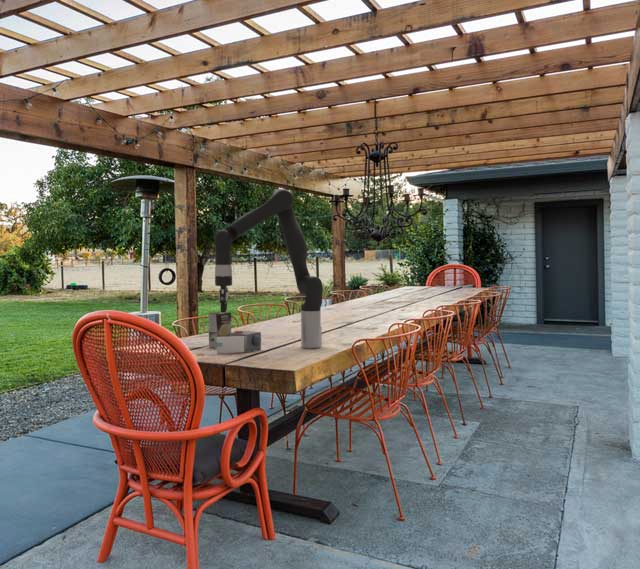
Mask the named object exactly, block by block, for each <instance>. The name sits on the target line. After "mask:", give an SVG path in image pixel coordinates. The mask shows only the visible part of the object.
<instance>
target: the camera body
mask: <svg viewBox="0 0 640 569" xmlns="http://www.w3.org/2000/svg"><path fill="white" fill-rule="evenodd" d="M261 334H262V332H261V331H252V330H235V331H234V330H233V332H231V333H230V337H236V336H247V352H245V345H244V352H243V353H250V352H249V351H251V352H254V351H253V350H256V351H259V350H258V349H260V350H262V335H261Z"/></svg>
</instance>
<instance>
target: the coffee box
mask: <svg viewBox="0 0 640 569" xmlns="http://www.w3.org/2000/svg"><path fill="white" fill-rule="evenodd" d="M230 333H232V312H228V311H226V312H225V313H221V311H220V312H211V313H210V312H209V313H208V347H209V348H215V349H217V347H216V343H217V337H230Z"/></svg>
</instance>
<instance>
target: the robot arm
mask: <svg viewBox="0 0 640 569" xmlns="http://www.w3.org/2000/svg"><path fill="white" fill-rule="evenodd" d="M291 192H292V191H290V190H288V189H285V188H278V189H275V190H274V191H273V193H272V195H271V197H270V198H269V199H268V200H267V201H266V202H265V203H264V204H262V205H260V206H258V207H257V208H254V209H252V210H250V211H249V212H246V213H245V214H244V215H242V216H240V217H239V218H237V219H236V220H234V221H232V222H231V224H229V225H228V226H226V227H224V228H223V229H219V230H217V232H215V235H214V247H215V248H214V249H215V250H214V251H215V258H214V259H215V263H214V264H215V265H214V266H215V267H214V285H215V287H220V289H219V290H218V294H219V297H218V298H219V304H220V312H221V313H225V312H227V311H228V299H229V289H228V287H230V286H232V285H233V268H232V266H233V265H232V253H231V252H232V251H231V249H232V248H231V245H232V242H234V241H235V240H237V239H238V238H239V237H242V236H243V235H244V234H246V233H248V232H249V231H251V230H253V229H254V228H255V227H256V226H258V225H260V224H261V223H262V222H264V221H266V220H268V219H269V218H270V217H273V216H274V215H277V218H278V221H279V223H280V228H281V232H282V237H283V240H284V244H285V247H286V250H287V253H288V256H289V260H290V262H291V266H292V269H293V273H294V277H295V278H294V279H295V282H296V288H297V290H298V292H299V294H301V295H302V296H305V299H304V300H305V301H304V302H303V303H302V304H301V305H300V339H301V340H300V346H301V348H302V349H319V348H321V347H322V346H323V343H322V340H323V339H322V333H323V332H322V329H323V328H322V326H321V315H322V314H321V308H322V304H323V292H324V291H323V289H324V288H323V283H322V279H320V278H319V277H318V276H313V275H310V272H309V270H308V266H307V258H308V245H307V242H306V239H305V235H304V233H303V231H302V229H301V226H300V224H299V222H298V220H297V218H296V216H295V212H294V208H293V203H294V195H293V194H292V193H291Z"/></svg>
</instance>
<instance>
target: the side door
mask: <svg viewBox="0 0 640 569" xmlns="http://www.w3.org/2000/svg"><path fill="white" fill-rule="evenodd" d="M244 345H245V352H244ZM216 347H217V348H216V353H217V354H224V353H225V354H227V353H235V354H236V353H248V352H247V336H236V337H217V343H216Z"/></svg>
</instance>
